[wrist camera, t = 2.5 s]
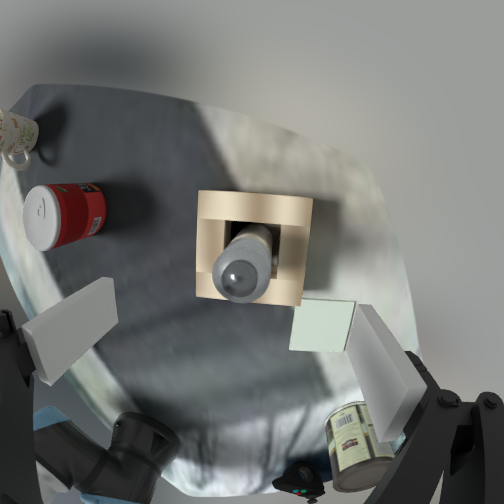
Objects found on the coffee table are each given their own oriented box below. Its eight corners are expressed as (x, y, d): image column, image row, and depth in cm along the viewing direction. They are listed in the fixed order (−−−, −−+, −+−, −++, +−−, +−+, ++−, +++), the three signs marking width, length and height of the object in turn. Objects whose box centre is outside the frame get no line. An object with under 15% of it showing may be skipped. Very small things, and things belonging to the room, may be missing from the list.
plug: (236, 256, 35) (208, 305, 20) (238, 222, 34) (209, 247, 19) (270, 259, 34) (267, 311, 20) (273, 225, 33) (272, 253, 19)
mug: (36, 106, 32) (-1, 98, 22) (55, 151, 33) (11, 148, 24) (15, 138, 33) (-22, 136, 23) (32, 184, 35) (-9, 188, 25)
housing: (206, 282, 36) (196, 296, 31) (209, 190, 33) (198, 190, 28) (297, 290, 35) (300, 306, 30) (307, 197, 32) (313, 198, 27)
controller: (312, 473, 45) (314, 507, 35) (270, 459, 44) (268, 496, 34) (325, 466, 44) (329, 500, 34) (283, 452, 43) (283, 490, 33)
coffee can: (353, 439, 41) (365, 494, 28) (313, 429, 41) (318, 490, 27) (388, 407, 39) (411, 463, 25) (348, 394, 38) (366, 458, 25)
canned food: (105, 178, 34) (54, 178, 23) (111, 233, 35) (62, 249, 25) (69, 187, 34) (19, 192, 24) (75, 237, 36) (27, 253, 26)
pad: (289, 348, 37) (289, 349, 37) (296, 297, 35) (296, 298, 35) (342, 350, 36) (342, 351, 36) (353, 301, 35) (354, 302, 34)
